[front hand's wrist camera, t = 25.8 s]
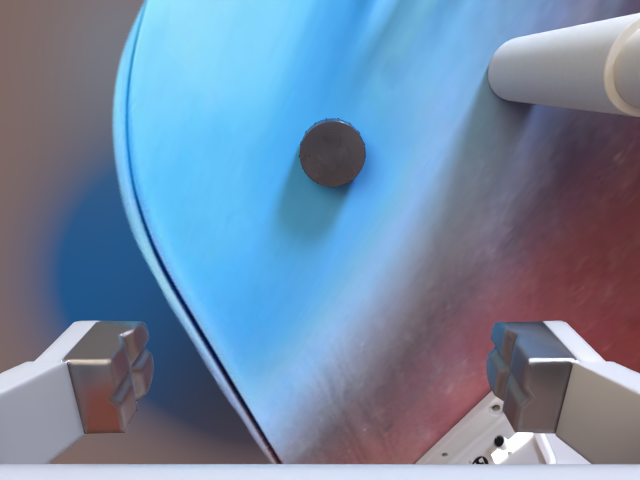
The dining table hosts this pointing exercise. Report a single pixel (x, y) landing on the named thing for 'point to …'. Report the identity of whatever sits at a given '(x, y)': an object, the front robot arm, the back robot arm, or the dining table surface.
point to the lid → (332, 152)
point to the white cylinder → (573, 67)
